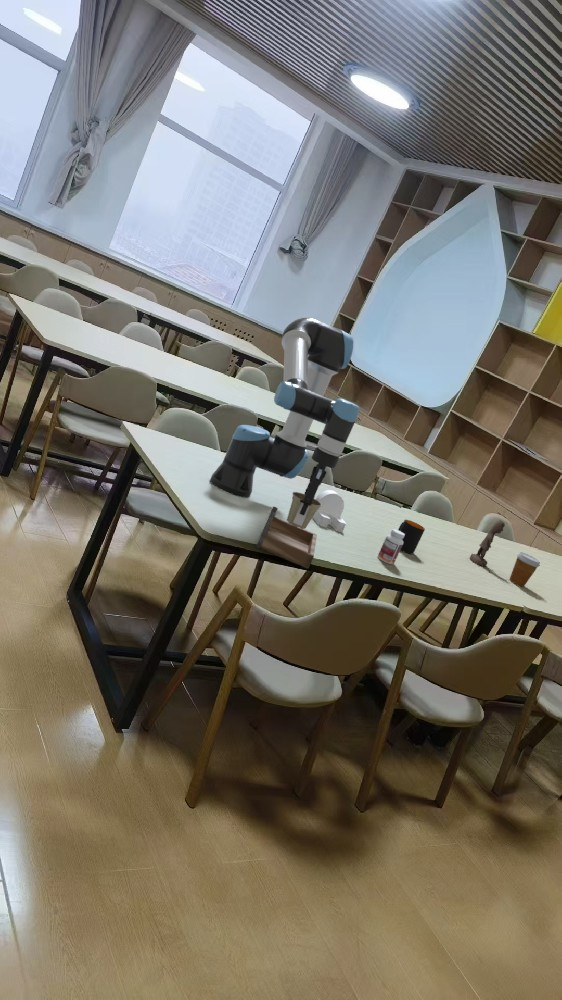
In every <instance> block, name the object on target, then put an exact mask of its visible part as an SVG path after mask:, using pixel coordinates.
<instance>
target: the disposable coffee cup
mask: <svg viewBox="0 0 562 1000" xmlns="http://www.w3.org/2000/svg"><path fill="white" fill-rule="evenodd" d="M516 557H517V558H516V560H515V562H514V566H513V568H512V570H511V574H510V577H509V581H510V582H511V583H513V584H515V585H516V586H518V587H522V588H524V587H525V586H526V584H527V583H528V581H529V580H530V578H531V577H532V576H533V575H534V573H535V572H536V570H537V568H538V567H540V564H541V561H540V560H539V559H538V558H535V557H534V556H532V555H529V554H528V553H525V552H519V553H518V554H517V556H516Z"/></svg>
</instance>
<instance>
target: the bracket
mask: <svg viewBox="0 0 562 1000" xmlns="http://www.w3.org/2000/svg"><path fill="white" fill-rule="evenodd" d="M315 499H316V500H317V501H319V502H320V503H321V504H322V506H321V507H320V508H319V509H318V510H317V511H316V512H315V514H314V516H313V517H312V520H314V522H316V524H317V525H318V526H320V527H322V528H325V529H327V528H328V527H329V526H331V527H332V528H333V530H334V531H336V532H339V533H341V534H342V533H343V532H344V531H345V527H346V526H347V523H346V521H345V520H344V519H343V518H342V517H341V516H342V514H343V511H344V508H345V502H344V499H343V497H342V496H341V495H339V493H338V492H336V491H335V490H332V489H327V490H323V491H322V492H320V493H319V494H318V495H317V496H316V497H315Z"/></svg>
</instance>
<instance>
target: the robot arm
mask: <svg viewBox="0 0 562 1000" xmlns="http://www.w3.org/2000/svg"><path fill="white" fill-rule="evenodd" d="M281 346H282V349H283V351H284V354H283V357H284V358H283V381H281V382H280V383H279V385H278V386H277V388H276V390H275V393H274V397H273V401H274V404H275V405H277V406H279V407H280V408H283V409H284V410H288V411H289V413H288V416H287V417H286V420H285V423H284V426H283V428H282V430H280V431H277V432H276V433H275V435H274V437H272V436H271V432H269V431H268V430H266V429H265V428H261V427H258V426H254V425H251V424H250V425H249V424H241V425H238V426H237V427H236V428H235V431H234V432H233V435H232V436H231V437H232V438H231V440H230V443H229V445H228V448H227V450H226V453H225V456H224V457H223V460H222V462H221V464H220V465H219V466H218V467H217V469H215V471H214V472H213V473H212V474H211V476H210V479H209V482H210V483H211V484H212V486H214V487H216V488H217V489H219V490H221V491H223V492H225V493H227V494H230V495H233V496H236V497H240V498H249V497H251V495H252V492H253V487H254V486H253V483H254V474H255V472H256V469H257V468H259V469H261V470H264V471H266V472H269V473H272V474H274V475H277V476H279V477H282V478H286V479H294V478H296V477H297V476H299V474H300V473H301V472H302V471H303V469H304V467H305V466H306V463H307V462H308V461H307V460H308V458H309V452H308V450H307V449H306V448H307V446H308V445H307V443H306V438H307V436H308V434H309V432H310V428H311V426H312V424H313V422H314V421H317V422H319V423H321V424H324V427H323V429H322V433H321V435H320V434H319V435H318V436H317V439H318V442H317V447H315V448H314V450H313V453H312V456H311V459H312V460H313V461H314V462H315V463H316V465H314V466H313V468H312V471H311V474H310V478H309V482H308V484H307V486H306V488H305V490H304V491H305V492H304V493H303V494H305V497H304V499H303V500H300V502H301V505H300V507H299V510H298V512H297V514H296V517H295V519H294V521H293V523H295V524H298V525H300V526H302V524H303V522H304V520H305V517H306V515H307V513H308V510H309V508H310V505H311V504H312V501H313V499H315V498H316V493H317V492H318V489H319V487H320V486H321V484H322V482H323V480H324V479H325V477H326V475H327V470H326V468H330V469H335V468H336V467H337V464H338V462H339V459H340V456H342V454H343V451H344V449H345V446H346V444H347V441H348V439H349V437H350V434H351V432H352V430H353V427H354V425H355V423H356V422H357V420H358V416H359V413H360V406H359V405H357V404H355V403H353V402H351V401H349V400H347V399H343V398H337V399H333V398H329V397H326V396H325V393H326V391H327V388H328V386H329V384H330V382H331V379H332V378H333V376H335V375H337V374H339V372H340V370H343V369H344V370H345V369H346V368H347V367H348V365H349V364H350V362H351V359H352V355H353V351H354V339H353V337H352V334H349V333H347V332H346V331H344V330H342V329H340V328H337V327H335V326H332V325H330V324H328V323H326V322H325V323H324V322H323V321H320V320H318V319H315V318H312V317H301V318H298V319H297V318H296V319H295V320H293V321H292V322H290V323H289V324H288V325H287V326H286V327H285V328H284V330H283V333H282V336H281ZM307 499H309V500H307Z"/></svg>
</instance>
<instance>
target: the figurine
mask: <svg viewBox="0 0 562 1000" xmlns="http://www.w3.org/2000/svg"><path fill="white" fill-rule="evenodd" d="M505 526H506V525H505V522H504V521H503V520H502V519H501V520H497V521H495V522H494V523H493V525H492V527H491V528H490V530H489V531H488V532H487V535H486V536H485V537H484V539H483V540H482V541H481V543H480V544H479V548H478V550H477V553H471V555H469V560H470V561H471V562H473V564H476V565H477V566H480V567H481V566H482V567H486V566H487V565H488V563H489V562H488V561H487V560H486V559H485V556H486V554H487V552H489V549H491V548H492V546H491V544H492V543H493V541H494V537H495V535H496V534H501V533H502V532H503V531H504V527H505Z"/></svg>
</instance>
